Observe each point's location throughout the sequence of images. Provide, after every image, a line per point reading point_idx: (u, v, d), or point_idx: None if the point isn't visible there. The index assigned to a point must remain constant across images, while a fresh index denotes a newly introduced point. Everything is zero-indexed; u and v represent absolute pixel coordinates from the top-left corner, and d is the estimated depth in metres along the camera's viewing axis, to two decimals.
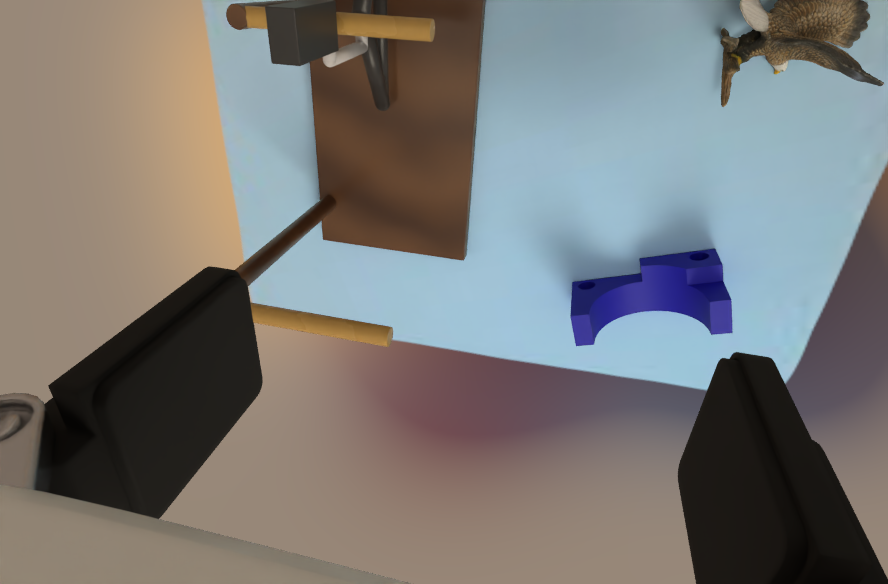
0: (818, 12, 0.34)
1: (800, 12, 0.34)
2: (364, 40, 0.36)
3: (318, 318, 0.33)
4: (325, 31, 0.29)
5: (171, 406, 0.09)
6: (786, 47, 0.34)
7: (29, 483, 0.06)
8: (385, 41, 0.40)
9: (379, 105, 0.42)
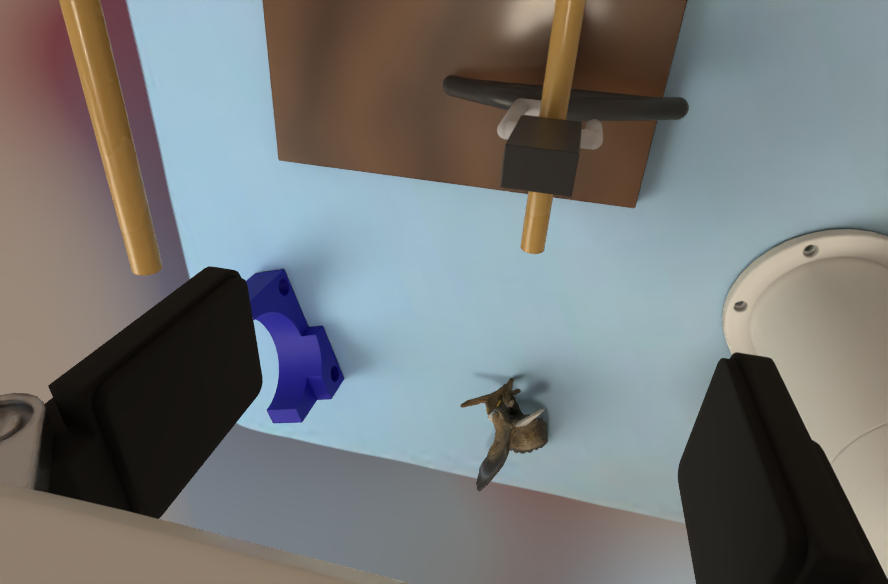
0: (526, 441, 0.47)
1: (527, 434, 0.46)
2: (527, 114, 0.28)
3: (131, 171, 0.21)
4: None
5: (171, 405, 0.09)
6: (503, 433, 0.45)
7: (29, 483, 0.06)
8: None
9: (449, 86, 0.32)
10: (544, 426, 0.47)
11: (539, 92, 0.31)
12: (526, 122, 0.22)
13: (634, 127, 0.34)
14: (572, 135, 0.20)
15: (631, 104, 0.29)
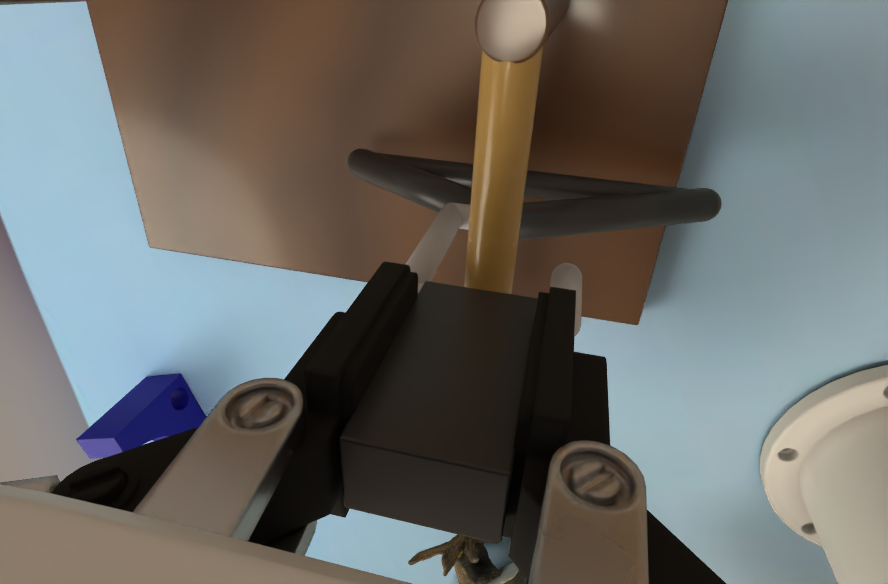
0: None
1: None
2: (463, 228, 0.17)
3: None
4: None
5: None
6: None
7: (254, 486, 0.07)
8: None
9: (355, 167, 0.21)
10: (522, 576, 0.36)
11: None
12: (425, 313, 0.11)
13: None
14: (510, 367, 0.10)
15: (632, 207, 0.18)
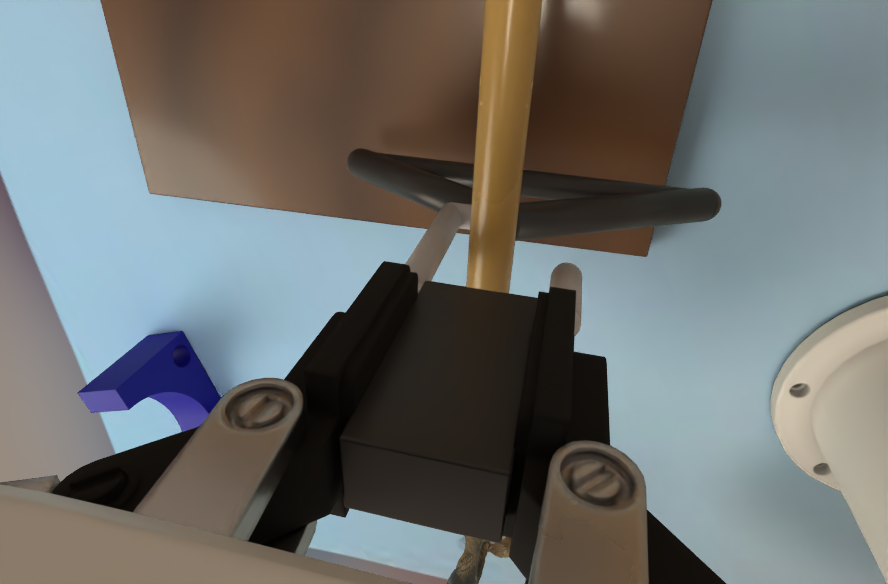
0: (506, 551, 0.36)
1: (507, 543, 0.35)
2: (463, 227, 0.17)
3: None
4: None
5: None
6: (475, 544, 0.34)
7: (254, 487, 0.07)
8: None
9: (355, 167, 0.21)
10: None
11: None
12: (425, 312, 0.11)
13: (644, 141, 0.22)
14: (510, 367, 0.10)
15: (632, 207, 0.18)
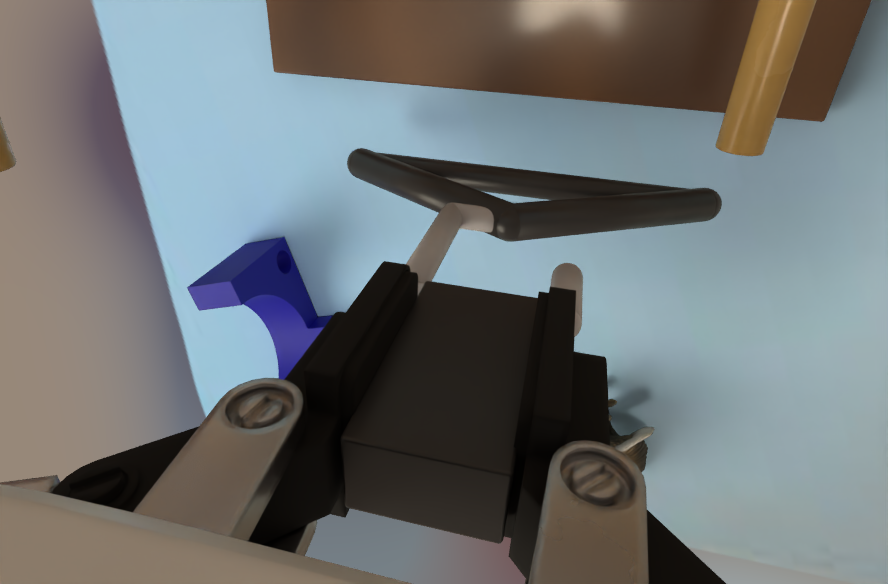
0: None
1: None
2: (463, 228, 0.17)
3: None
4: None
5: None
6: None
7: (254, 487, 0.07)
8: None
9: (355, 167, 0.21)
10: (645, 450, 0.34)
11: (490, 178, 0.20)
12: (426, 313, 0.11)
13: None
14: (511, 367, 0.10)
15: (632, 207, 0.18)
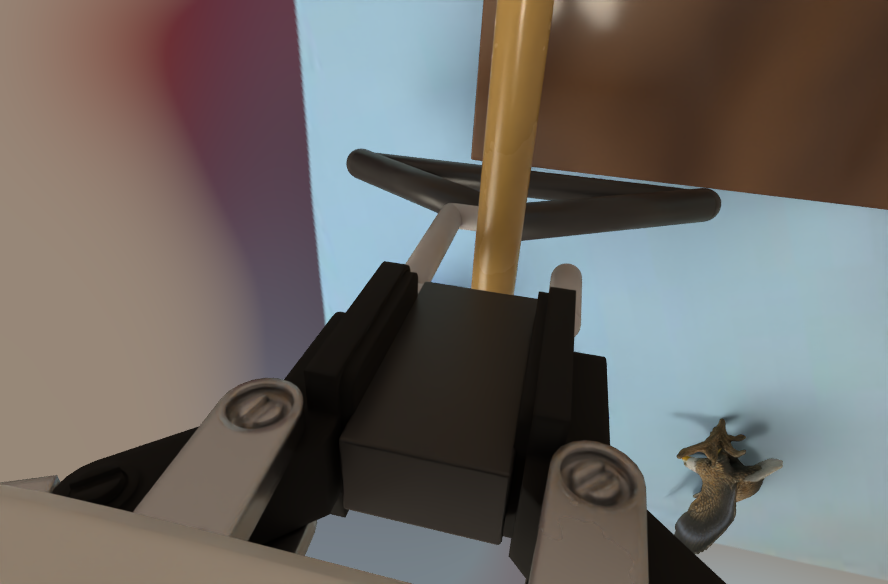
0: (739, 495, 0.39)
1: (745, 486, 0.38)
2: (462, 228, 0.17)
3: (527, 179, 0.13)
4: None
5: None
6: (719, 487, 0.38)
7: (254, 487, 0.07)
8: None
9: (354, 167, 0.21)
10: None
11: None
12: (425, 313, 0.11)
13: None
14: (509, 368, 0.10)
15: (631, 208, 0.18)
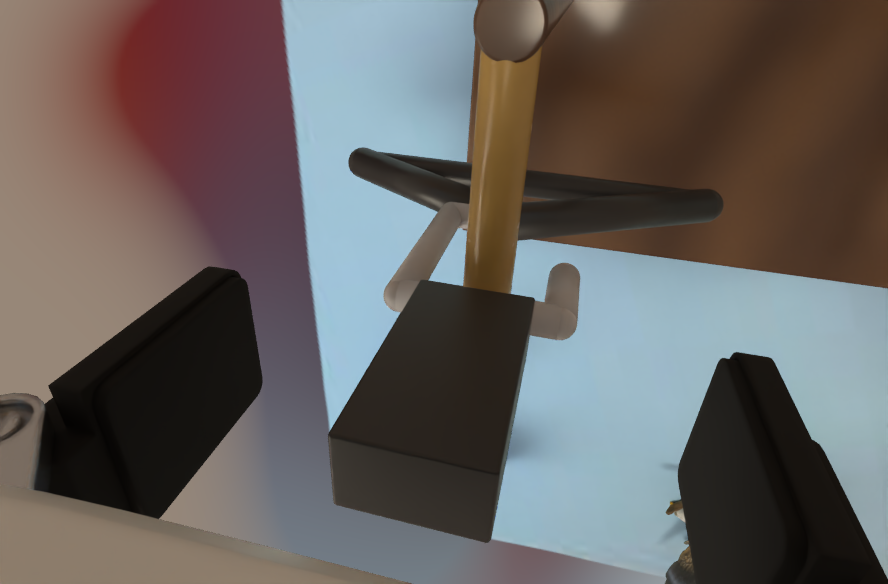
0: None
1: None
2: (462, 227, 0.17)
3: None
4: None
5: (171, 405, 0.09)
6: None
7: (29, 483, 0.06)
8: None
9: (356, 166, 0.21)
10: None
11: None
12: (419, 311, 0.11)
13: None
14: (502, 366, 0.10)
15: (632, 208, 0.18)
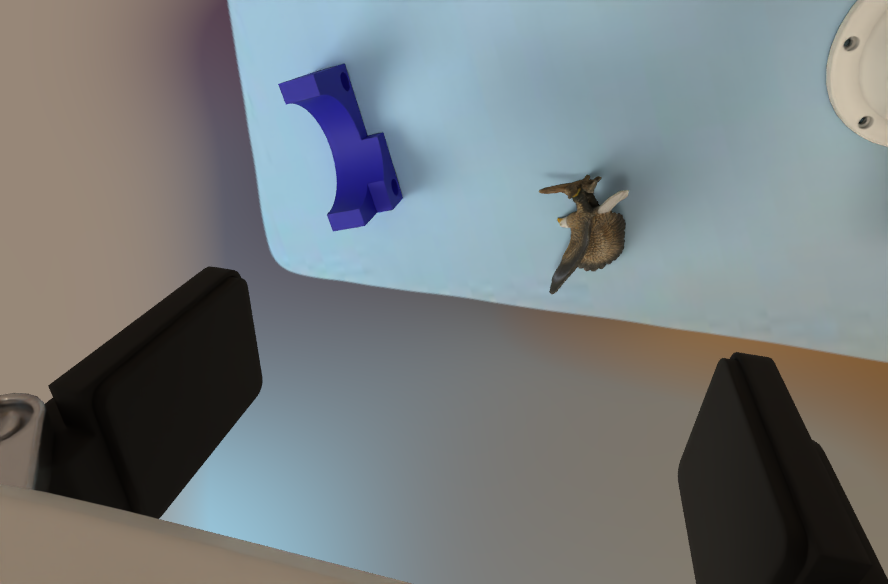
0: (604, 242, 0.44)
1: (606, 231, 0.44)
2: None
3: None
4: None
5: (171, 406, 0.09)
6: (582, 227, 0.43)
7: (29, 483, 0.06)
8: None
9: None
10: (623, 225, 0.44)
11: None
12: None
13: None
14: None
15: None
